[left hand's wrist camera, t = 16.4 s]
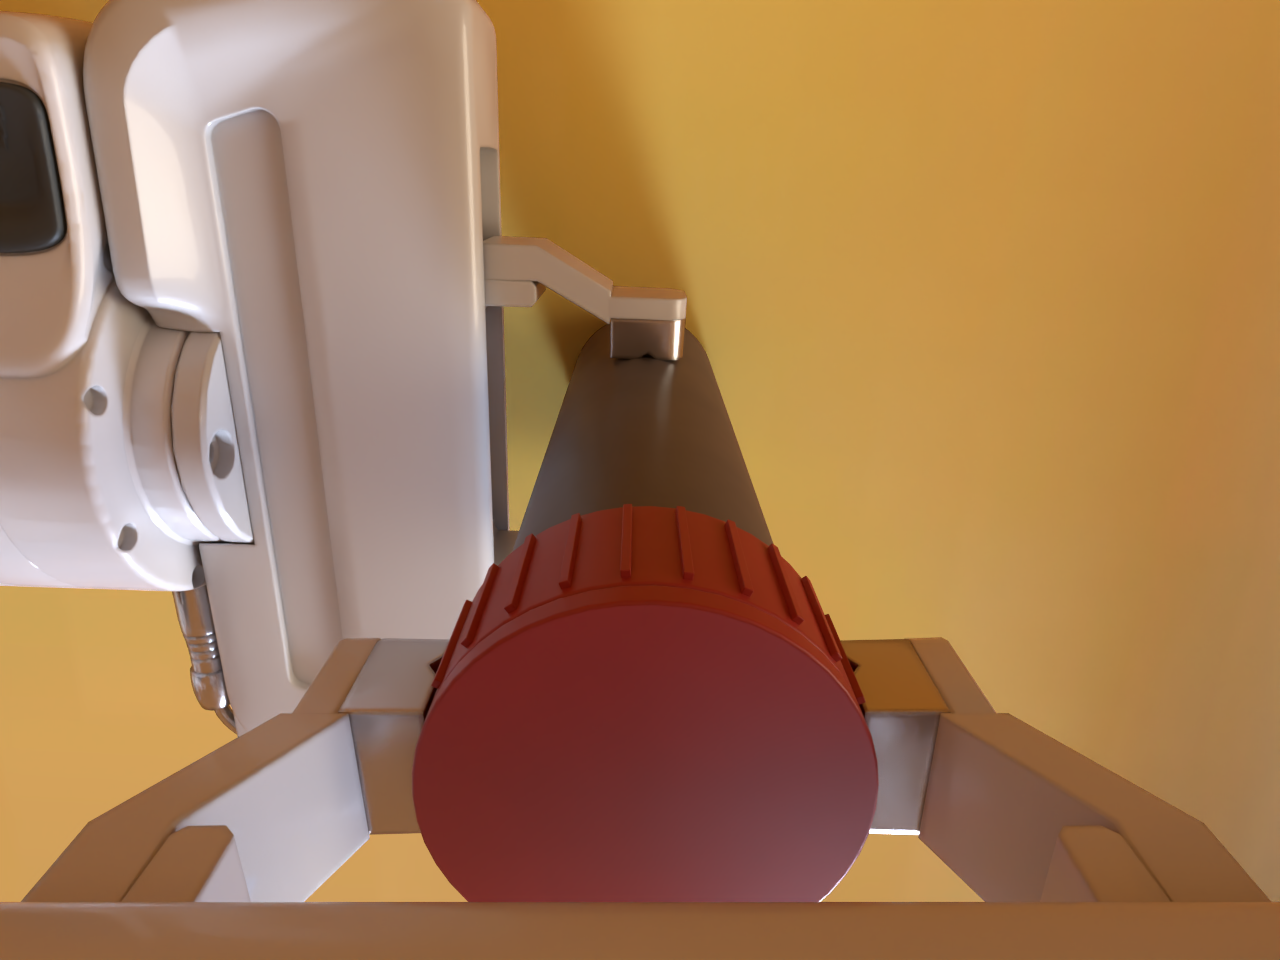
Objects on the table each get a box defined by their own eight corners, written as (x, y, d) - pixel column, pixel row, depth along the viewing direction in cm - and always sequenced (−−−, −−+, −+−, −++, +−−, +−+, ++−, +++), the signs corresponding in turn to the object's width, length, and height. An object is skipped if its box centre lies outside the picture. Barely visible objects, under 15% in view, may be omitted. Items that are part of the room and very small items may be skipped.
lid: (756, 852, 12) (783, 1007, 10) (417, 773, 11) (365, 918, 9) (897, 562, 10) (970, 672, 8) (500, 450, 9) (458, 534, 7)
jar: (565, 438, 26) (438, 882, 10) (583, 302, 24) (468, 568, 8) (697, 459, 26) (788, 924, 10) (725, 326, 24) (885, 630, 8)
